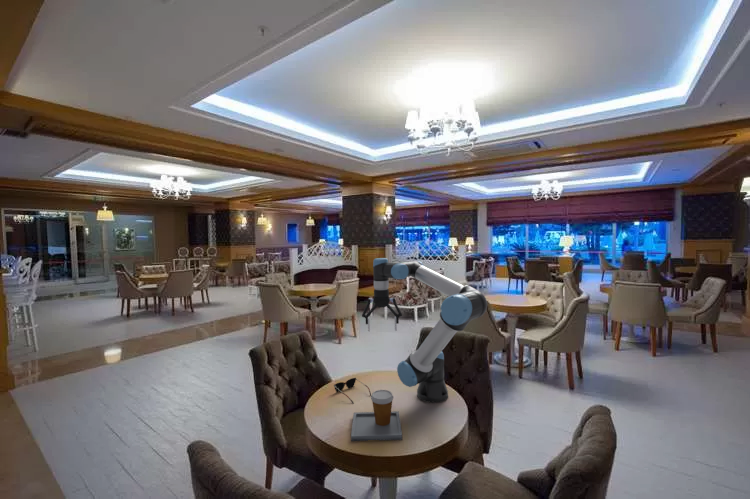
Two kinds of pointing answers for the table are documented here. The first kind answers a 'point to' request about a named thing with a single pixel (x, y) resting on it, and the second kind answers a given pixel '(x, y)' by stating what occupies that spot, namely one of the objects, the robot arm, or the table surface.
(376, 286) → the robot arm
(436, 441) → the table surface
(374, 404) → the disposable coffee cup
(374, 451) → the table surface
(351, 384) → the sunglasses
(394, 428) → the serving tray
